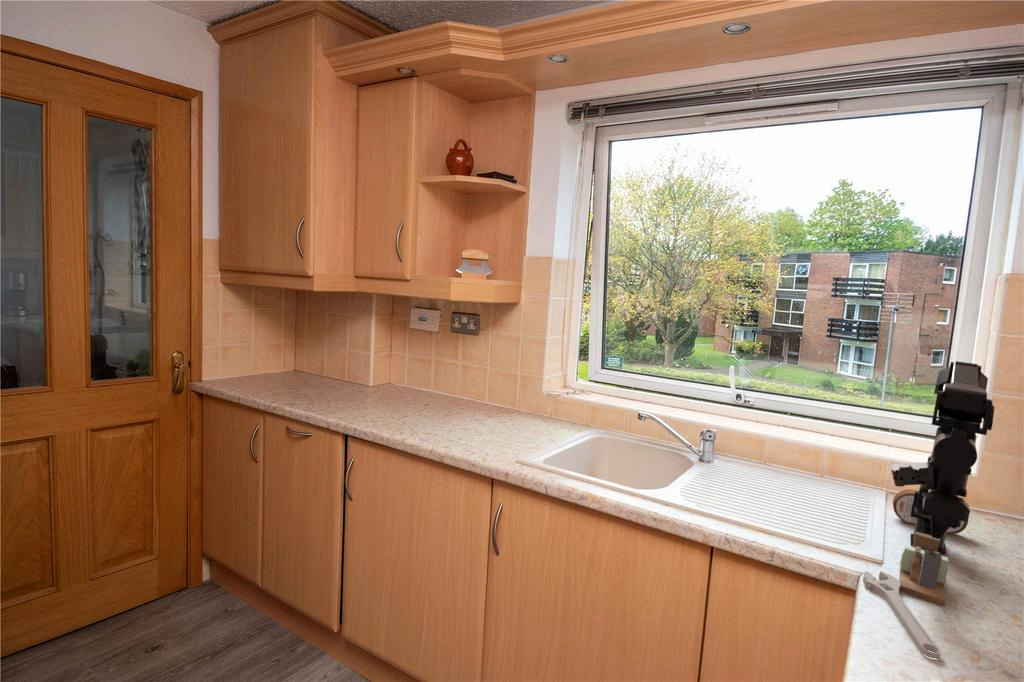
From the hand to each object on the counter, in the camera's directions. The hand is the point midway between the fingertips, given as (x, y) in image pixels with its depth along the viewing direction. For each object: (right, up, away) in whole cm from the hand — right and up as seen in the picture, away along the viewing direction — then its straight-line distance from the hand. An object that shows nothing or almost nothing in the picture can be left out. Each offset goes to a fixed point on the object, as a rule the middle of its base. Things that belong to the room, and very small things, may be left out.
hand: (935, 537), depth 106 cm
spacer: (+4, -10, +9) cm, 14 cm away
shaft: (-1, -7, +1) cm, 7 cm away
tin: (+23, -10, +35) cm, 43 cm away
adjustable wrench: (-9, -13, -3) cm, 16 cm away
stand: (+3, -12, +8) cm, 14 cm away
